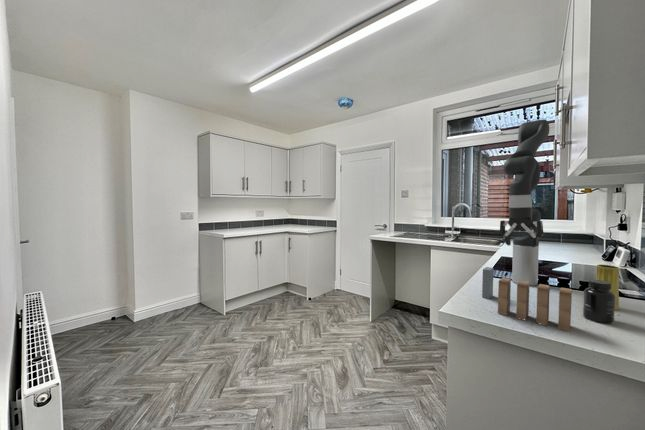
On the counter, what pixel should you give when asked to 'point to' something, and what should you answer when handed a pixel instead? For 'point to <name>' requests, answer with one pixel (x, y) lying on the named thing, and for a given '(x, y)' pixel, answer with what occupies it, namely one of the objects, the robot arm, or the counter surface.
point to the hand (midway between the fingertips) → (520, 246)
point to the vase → (610, 279)
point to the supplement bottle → (599, 302)
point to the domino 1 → (487, 283)
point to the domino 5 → (564, 308)
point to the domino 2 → (504, 296)
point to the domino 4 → (543, 304)
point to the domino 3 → (522, 300)
